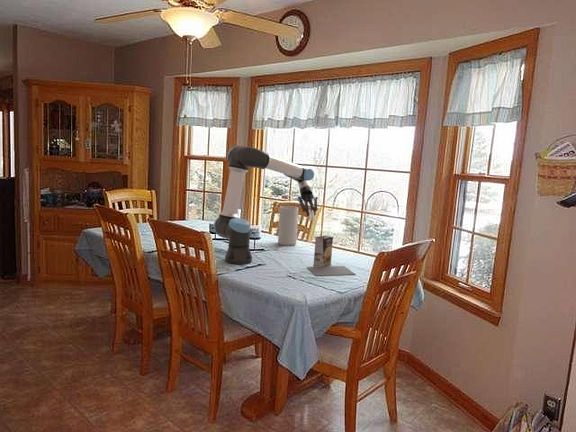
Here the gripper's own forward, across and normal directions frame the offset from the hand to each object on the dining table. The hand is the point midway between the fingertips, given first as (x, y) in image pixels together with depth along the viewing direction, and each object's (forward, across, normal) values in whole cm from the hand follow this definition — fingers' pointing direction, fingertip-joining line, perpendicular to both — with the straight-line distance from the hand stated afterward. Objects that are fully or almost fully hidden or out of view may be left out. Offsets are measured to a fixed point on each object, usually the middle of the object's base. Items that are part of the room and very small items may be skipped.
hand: (312, 219), depth 269 cm
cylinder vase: (-7, +6, -38) cm, 39 cm away
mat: (+40, 0, +9) cm, 41 cm away
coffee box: (+31, 0, 0) cm, 31 cm away
